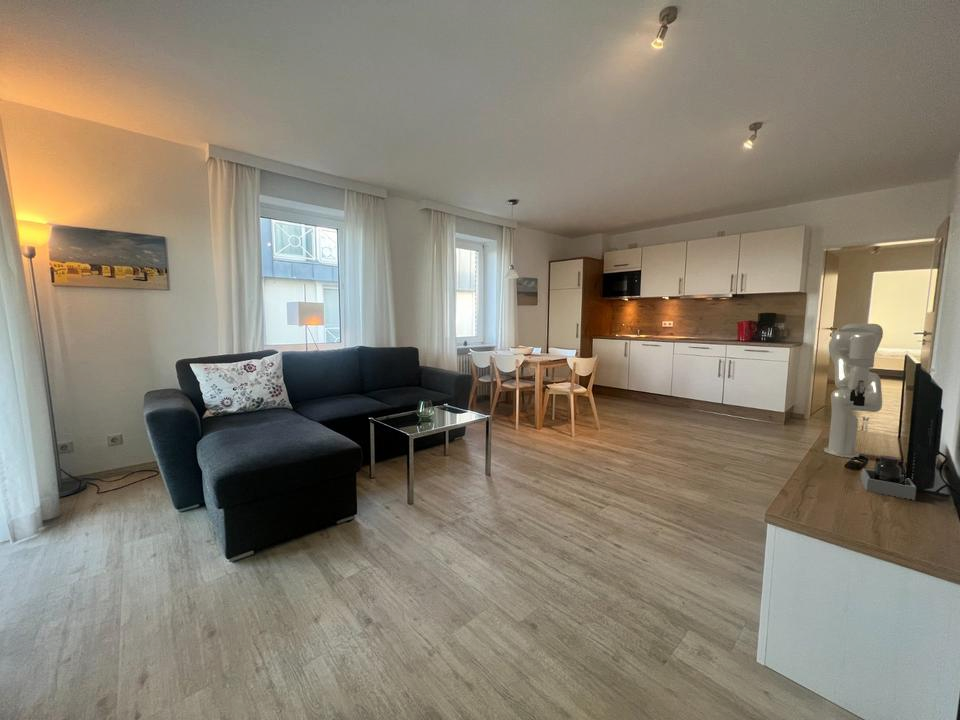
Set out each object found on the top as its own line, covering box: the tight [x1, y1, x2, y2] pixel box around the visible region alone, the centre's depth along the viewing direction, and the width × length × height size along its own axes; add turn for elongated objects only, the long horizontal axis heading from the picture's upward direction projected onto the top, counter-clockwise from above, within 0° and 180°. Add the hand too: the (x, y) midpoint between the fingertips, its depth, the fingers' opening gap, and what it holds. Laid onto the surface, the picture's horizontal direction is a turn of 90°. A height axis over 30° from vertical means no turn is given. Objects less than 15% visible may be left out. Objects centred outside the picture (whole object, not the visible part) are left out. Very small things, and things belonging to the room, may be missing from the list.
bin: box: [860, 468, 917, 501], centre depth 150 cm, size 13×13×5 cm
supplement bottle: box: [874, 455, 902, 484], centre depth 149 cm, size 7×7×12 cm
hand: (856, 403), depth 163 cm, fingers open, 9 cm apart
